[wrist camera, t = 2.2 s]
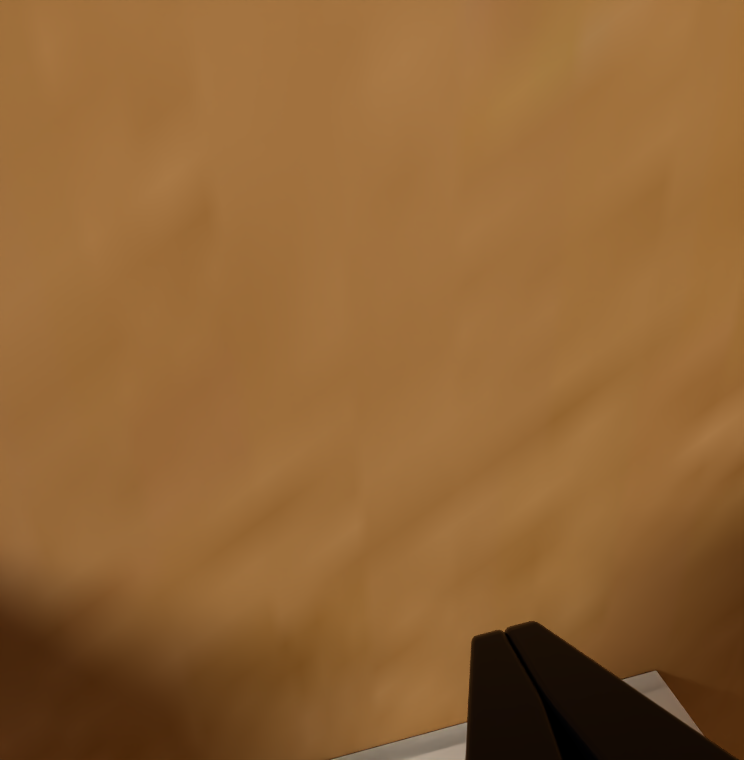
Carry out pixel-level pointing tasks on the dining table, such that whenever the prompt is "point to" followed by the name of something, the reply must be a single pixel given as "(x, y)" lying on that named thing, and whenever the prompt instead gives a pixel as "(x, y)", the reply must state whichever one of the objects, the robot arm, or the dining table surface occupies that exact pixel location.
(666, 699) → the box
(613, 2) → the dining table surface
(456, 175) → the dining table surface
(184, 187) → the dining table surface
